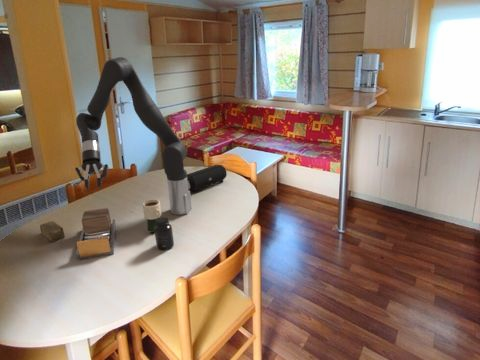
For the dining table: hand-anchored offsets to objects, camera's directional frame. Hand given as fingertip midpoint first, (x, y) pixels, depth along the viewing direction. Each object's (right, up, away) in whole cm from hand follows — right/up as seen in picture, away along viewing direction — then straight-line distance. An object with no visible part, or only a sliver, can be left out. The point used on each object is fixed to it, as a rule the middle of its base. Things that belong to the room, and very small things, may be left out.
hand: (93, 187), depth 148 cm
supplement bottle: (+33, -23, -11) cm, 42 cm away
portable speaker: (+43, 0, +45) cm, 63 cm away
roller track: (+5, -22, -6) cm, 23 cm away
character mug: (+26, -18, +1) cm, 32 cm away
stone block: (-17, -21, -1) cm, 27 cm away
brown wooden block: (+3, -17, -2) cm, 17 cm away
